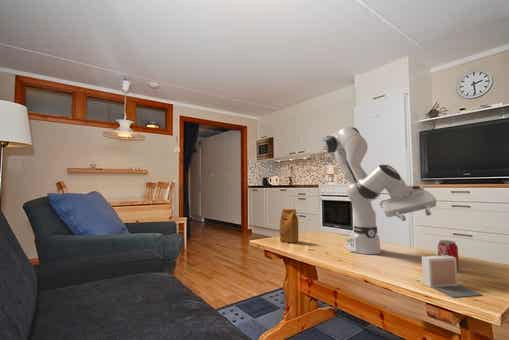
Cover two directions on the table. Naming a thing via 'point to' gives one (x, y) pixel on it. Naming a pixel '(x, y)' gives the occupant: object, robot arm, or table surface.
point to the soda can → (448, 250)
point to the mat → (457, 291)
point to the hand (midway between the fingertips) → (416, 217)
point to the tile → (439, 271)
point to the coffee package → (289, 226)
